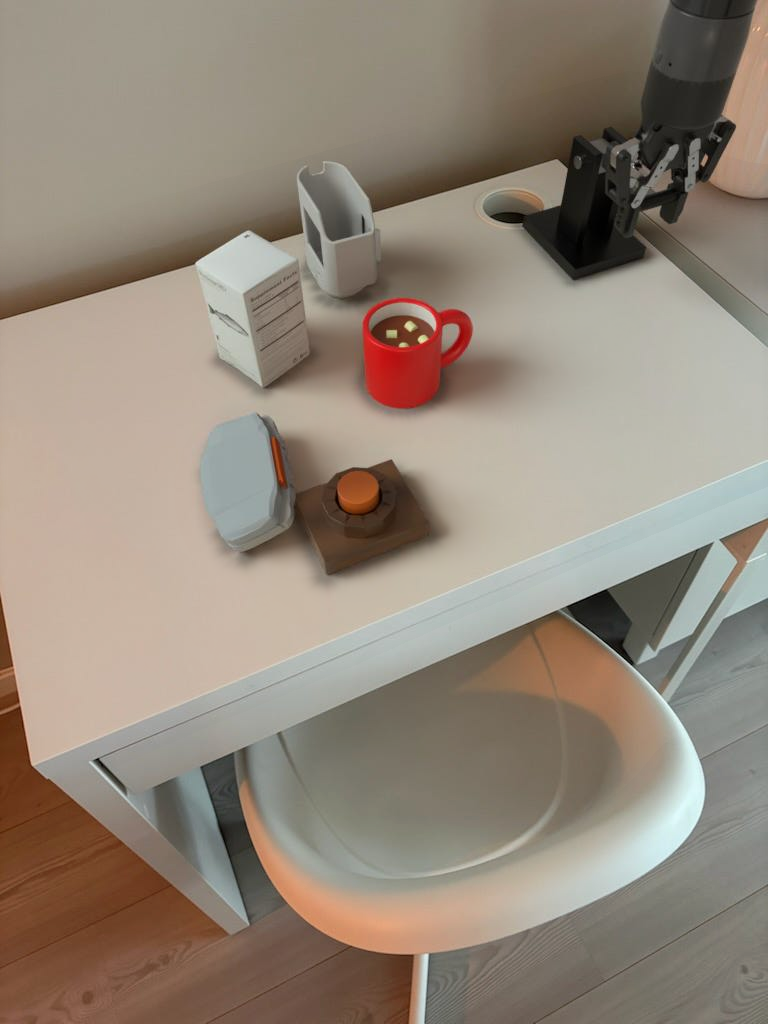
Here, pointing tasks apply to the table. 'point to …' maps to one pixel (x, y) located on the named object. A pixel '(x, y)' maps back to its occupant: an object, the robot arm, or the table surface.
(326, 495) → the button block
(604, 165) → the lever
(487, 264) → the table surface
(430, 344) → the mug
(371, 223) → the cable organizer
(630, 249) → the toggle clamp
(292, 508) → the grey case
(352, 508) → the button
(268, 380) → the white packaging box
